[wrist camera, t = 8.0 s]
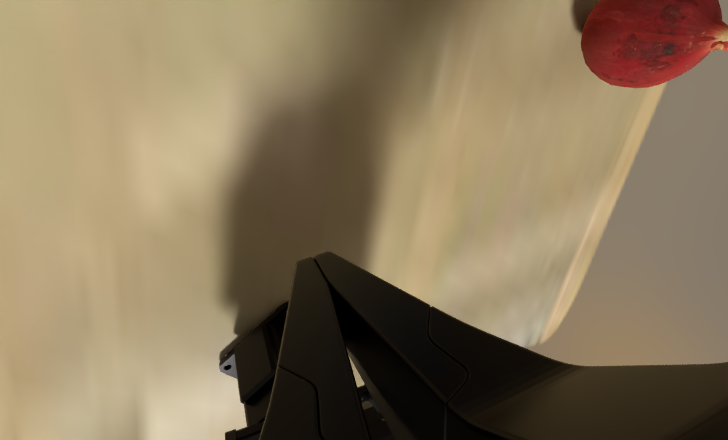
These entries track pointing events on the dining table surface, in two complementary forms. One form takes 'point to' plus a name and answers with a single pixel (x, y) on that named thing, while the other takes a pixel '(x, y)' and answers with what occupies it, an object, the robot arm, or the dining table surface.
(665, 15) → the red oval piece
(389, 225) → the dining table surface
